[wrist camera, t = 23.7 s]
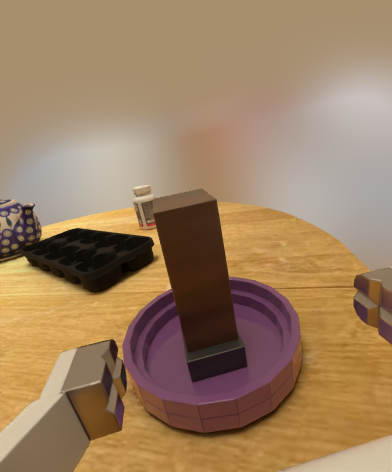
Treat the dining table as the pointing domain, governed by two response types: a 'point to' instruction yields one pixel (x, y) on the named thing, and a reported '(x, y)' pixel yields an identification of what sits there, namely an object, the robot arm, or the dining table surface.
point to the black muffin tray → (90, 256)
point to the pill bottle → (144, 206)
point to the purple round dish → (223, 385)
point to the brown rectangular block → (199, 282)
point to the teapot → (17, 228)
